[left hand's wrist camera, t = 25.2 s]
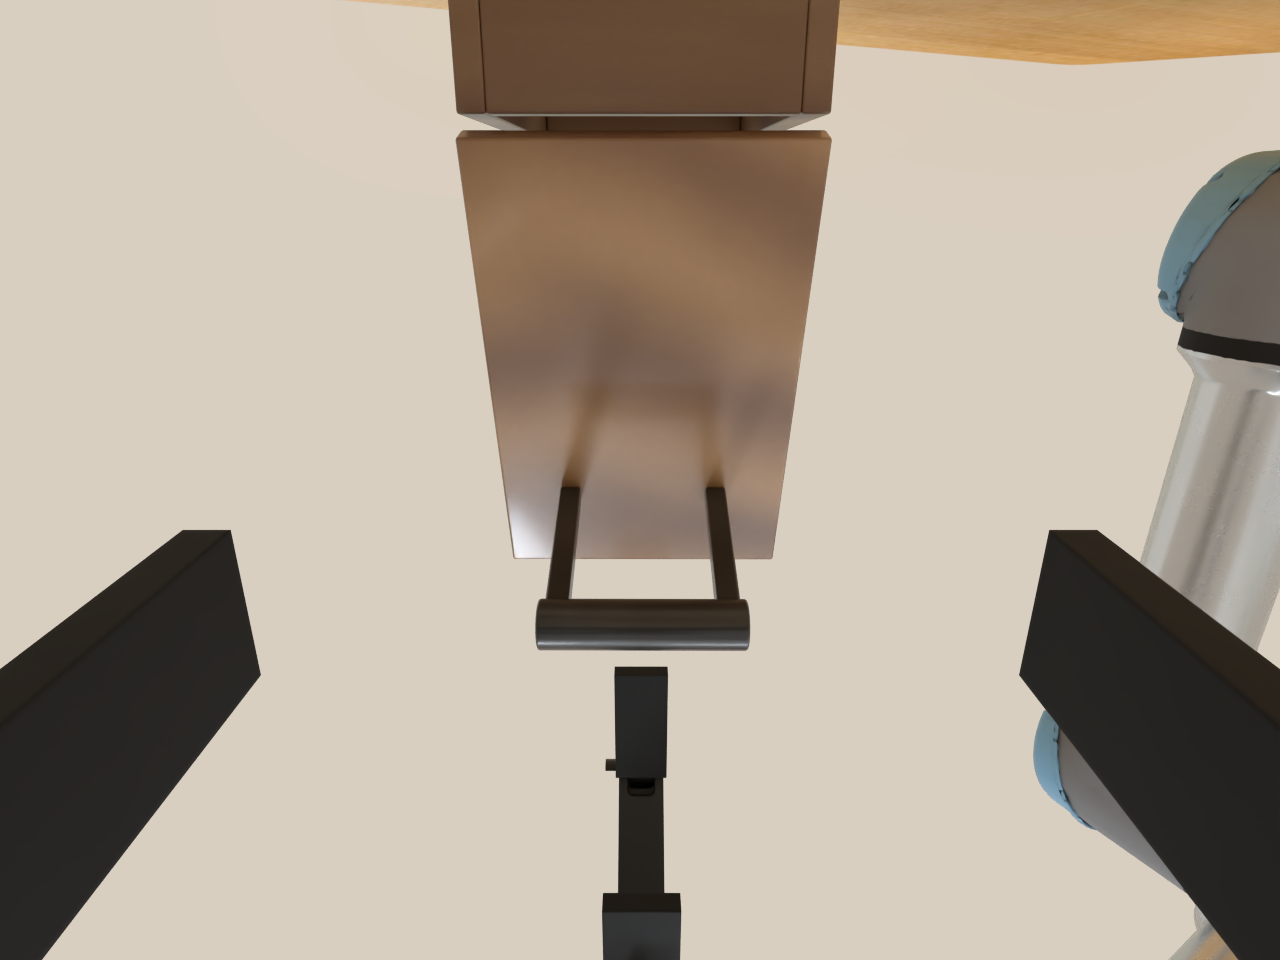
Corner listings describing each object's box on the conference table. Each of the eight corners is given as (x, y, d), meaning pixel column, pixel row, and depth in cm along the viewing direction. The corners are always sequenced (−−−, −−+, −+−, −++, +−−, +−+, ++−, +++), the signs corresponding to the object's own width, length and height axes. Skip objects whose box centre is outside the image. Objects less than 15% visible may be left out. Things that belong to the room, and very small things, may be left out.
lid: (769, 545, 30) (801, 713, 24) (516, 544, 30) (484, 712, 24) (826, 129, 21) (901, 232, 15) (460, 129, 21) (385, 232, 15)
